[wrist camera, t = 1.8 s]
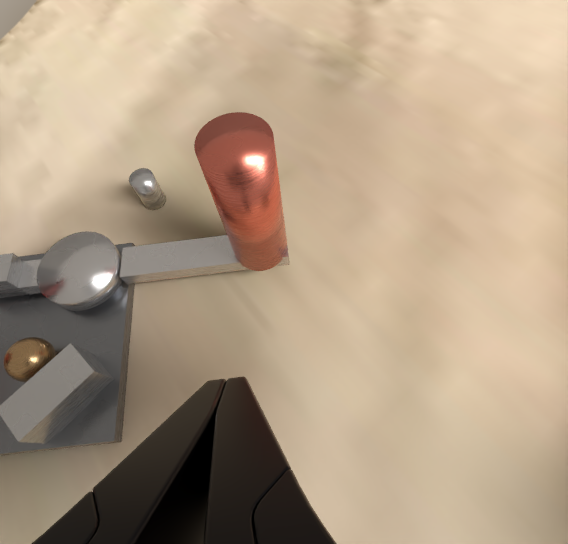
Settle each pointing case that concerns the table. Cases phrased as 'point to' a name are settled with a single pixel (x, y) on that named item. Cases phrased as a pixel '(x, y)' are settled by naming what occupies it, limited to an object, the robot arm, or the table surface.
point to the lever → (179, 254)
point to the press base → (60, 335)
